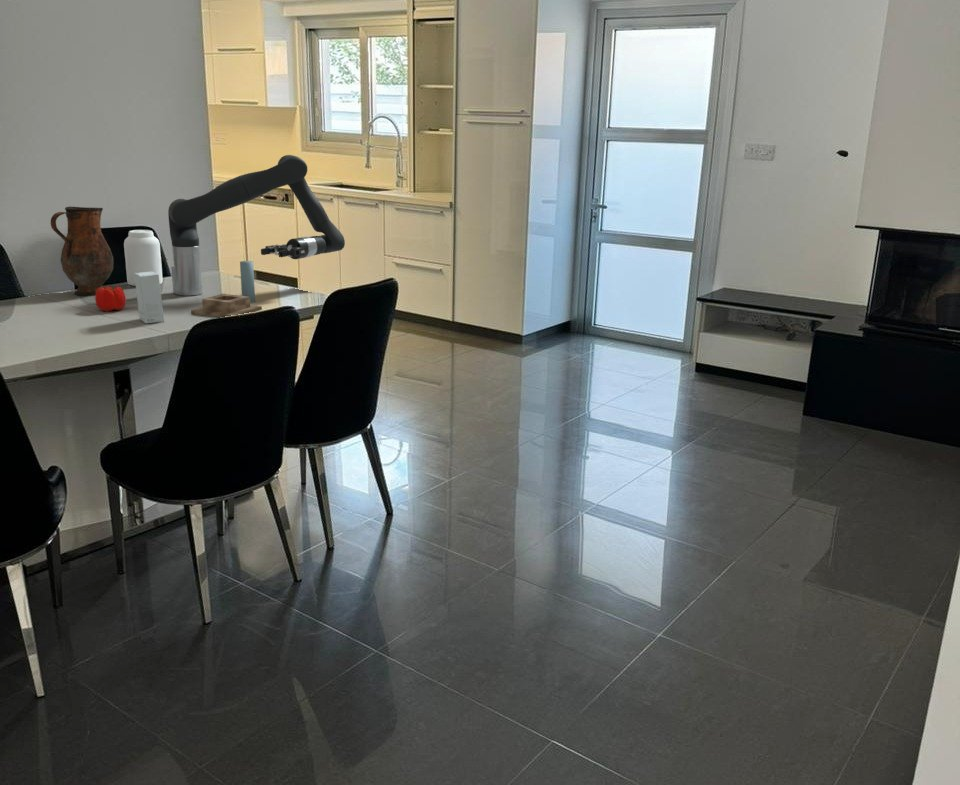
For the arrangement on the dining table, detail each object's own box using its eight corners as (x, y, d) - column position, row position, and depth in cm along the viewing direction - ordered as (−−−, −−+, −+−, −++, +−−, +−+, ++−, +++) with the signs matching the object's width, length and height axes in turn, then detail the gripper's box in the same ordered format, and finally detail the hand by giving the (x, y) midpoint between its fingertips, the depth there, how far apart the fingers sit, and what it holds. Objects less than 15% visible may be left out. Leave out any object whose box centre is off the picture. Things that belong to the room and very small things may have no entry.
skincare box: (164, 322, 265) (160, 274, 260) (144, 324, 262) (139, 276, 257) (157, 316, 272) (153, 270, 267) (137, 318, 268) (133, 271, 264)
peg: (239, 302, 296) (237, 262, 292) (247, 300, 300) (245, 260, 296) (250, 303, 295) (248, 263, 291) (257, 301, 299) (255, 261, 294)
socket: (191, 313, 278) (190, 299, 276) (222, 304, 292) (221, 291, 291) (232, 318, 272) (231, 304, 271) (261, 309, 287) (261, 296, 285)
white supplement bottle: (141, 288, 315) (136, 233, 309) (120, 284, 321) (115, 230, 315) (169, 283, 325) (165, 230, 319) (149, 279, 332) (144, 227, 326)
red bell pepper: (90, 311, 277) (88, 288, 274) (111, 306, 285) (109, 283, 282) (113, 314, 273) (111, 291, 271) (133, 309, 281) (131, 286, 279)
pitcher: (127, 291, 308) (119, 207, 299) (78, 301, 289) (68, 211, 280) (93, 286, 314) (84, 203, 305) (43, 296, 296) (32, 208, 287)
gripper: (287, 235, 317) (255, 240, 304) (316, 239, 311) (284, 244, 297) (288, 256, 320) (256, 261, 307) (317, 259, 313) (285, 265, 300)
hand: (270, 253), depth 302 cm, fingers open, 8 cm apart
